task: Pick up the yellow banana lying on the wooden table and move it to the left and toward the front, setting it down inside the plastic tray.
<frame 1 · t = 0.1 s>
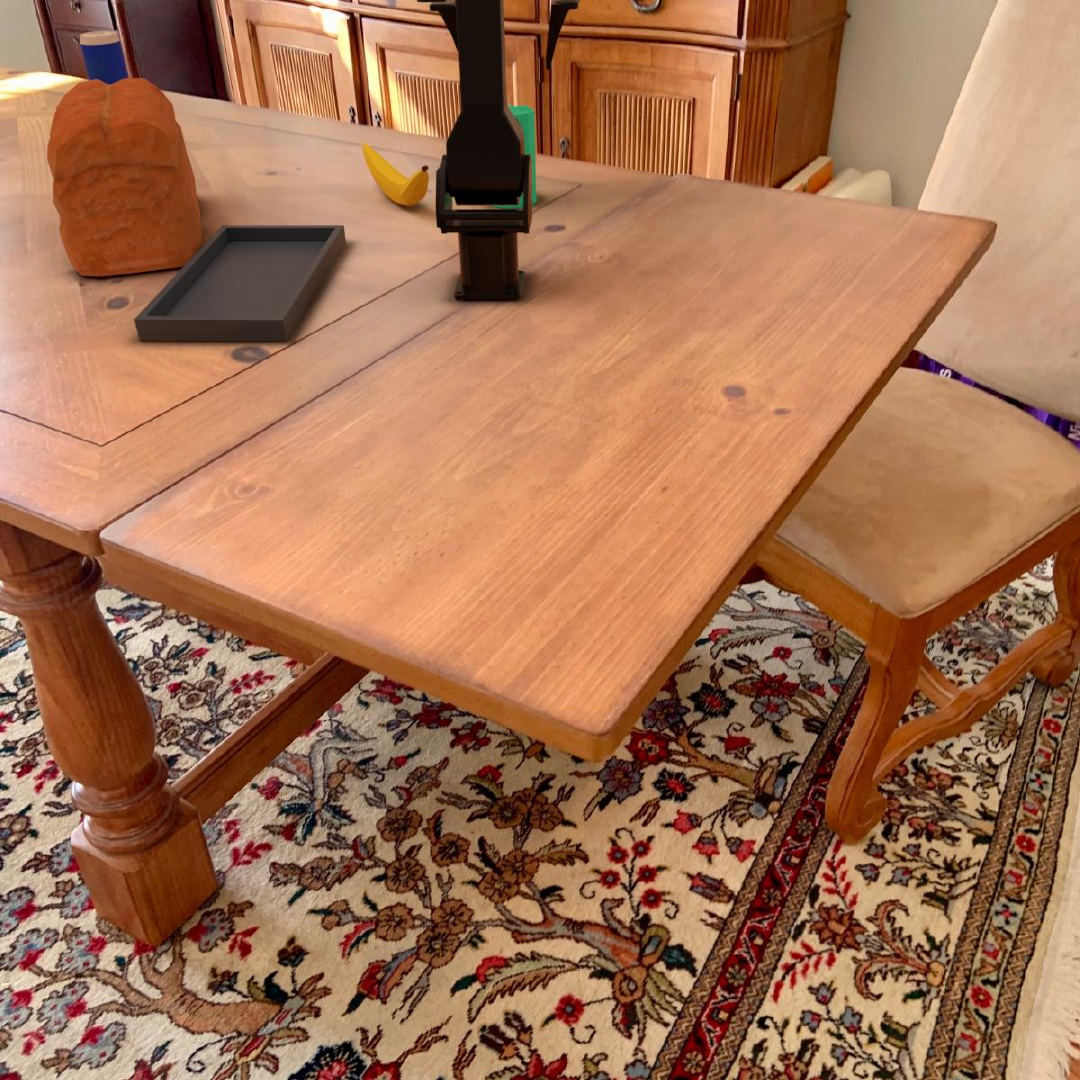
hand: (507, 69, 116), 15 cm above the table, tool pointing down, fingers open, 9 cm apart
beverage can: (126, 149, 148), on the table
tray: (252, 287, 103), on the table
bread: (141, 236, 117), on the table
banana: (398, 202, 125), on the table
candle: (512, 202, 124), on the table
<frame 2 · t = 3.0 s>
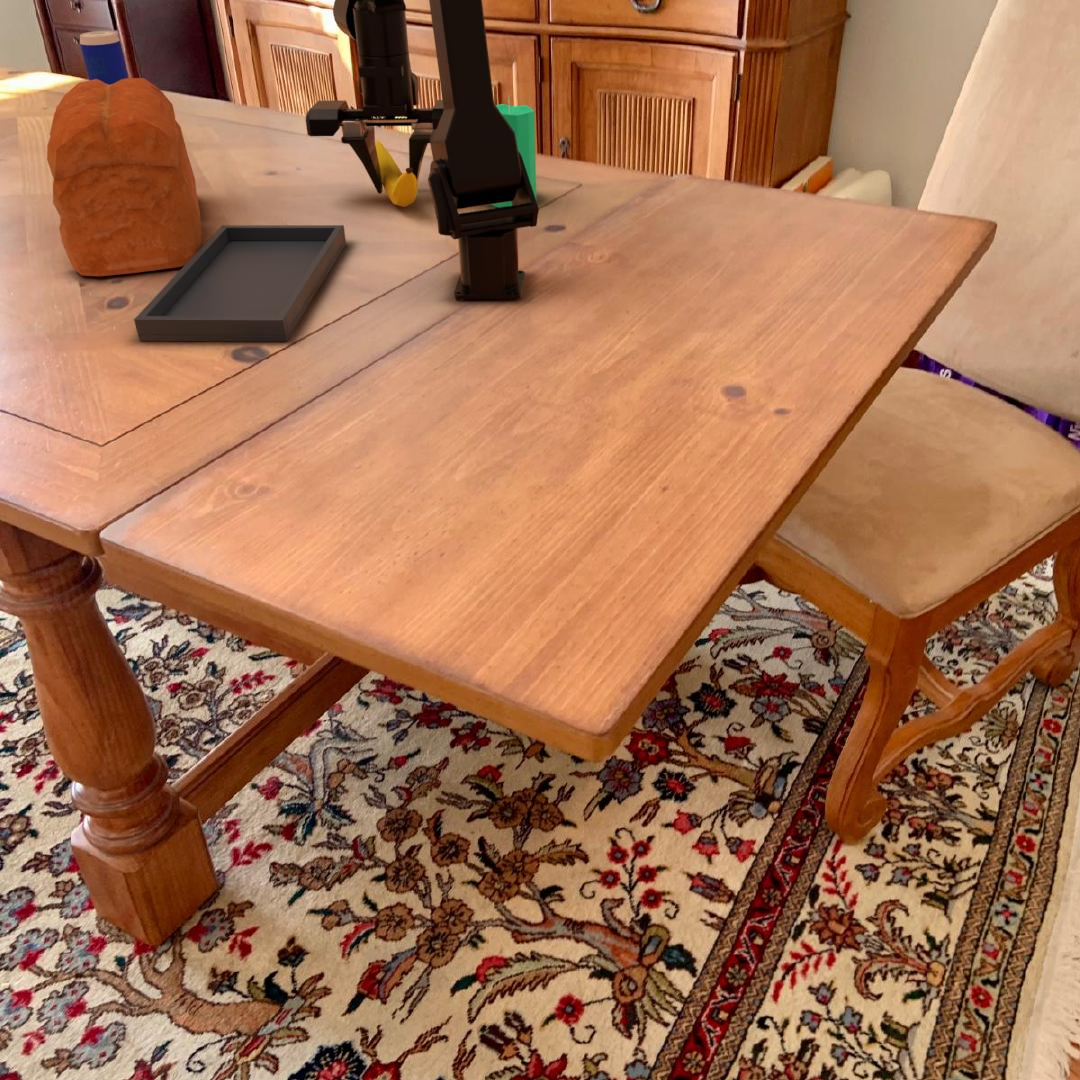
hand: (397, 192, 124), 1 cm above the table, tool pointing down, fingers closed on banana, 4 cm apart
banana: (397, 202, 125), on the table, touching gripper
everything else where it was.
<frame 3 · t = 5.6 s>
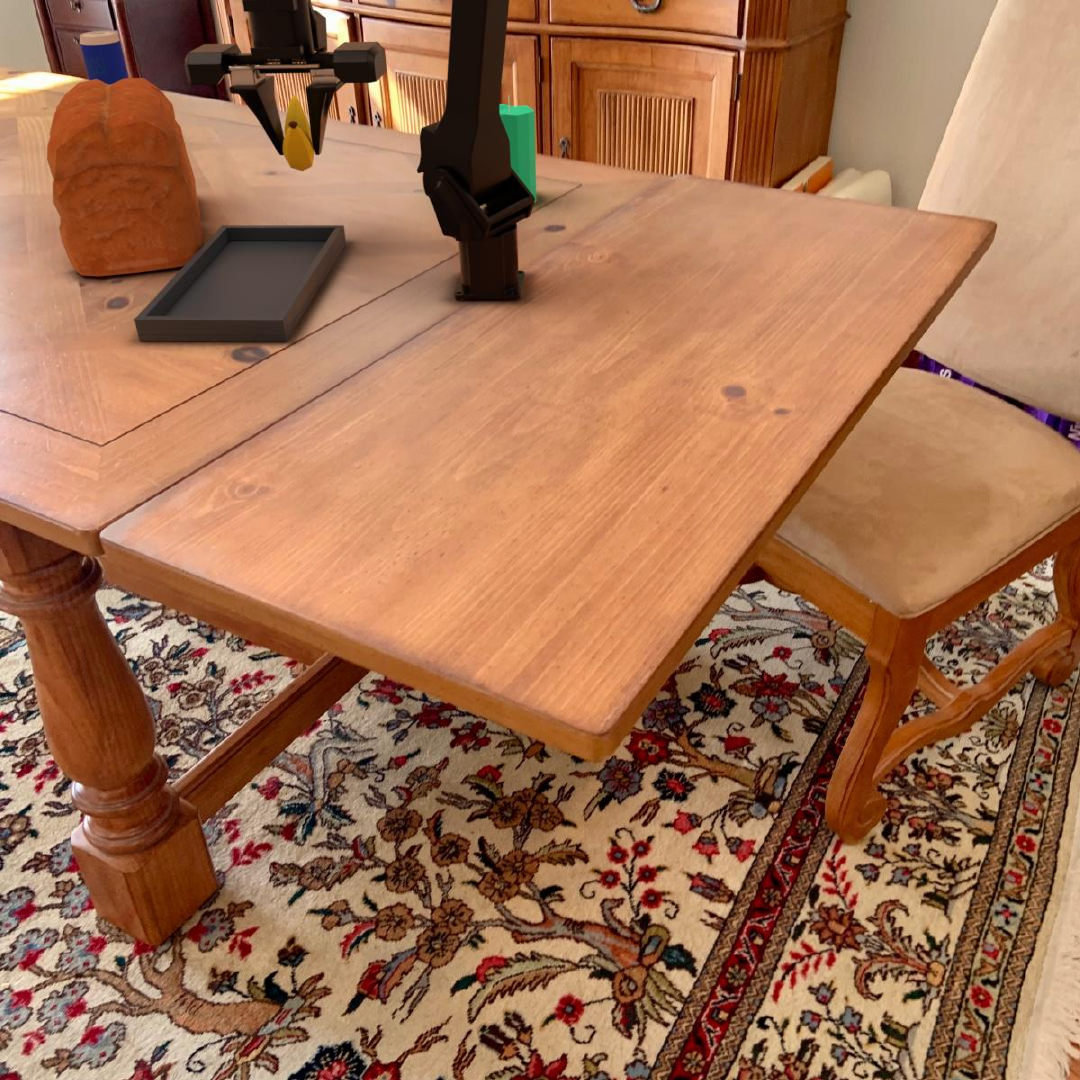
hand: (300, 154, 105), 10 cm above the table, tool pointing down, fingers closed on banana, 3 cm apart
banana: (302, 167, 106), point 9 cm above the table, touching gripper
everything else where it was.
when the fingers open (2 cm above the table, at t = 8.7 s): banana stays where it is, resting on tray.
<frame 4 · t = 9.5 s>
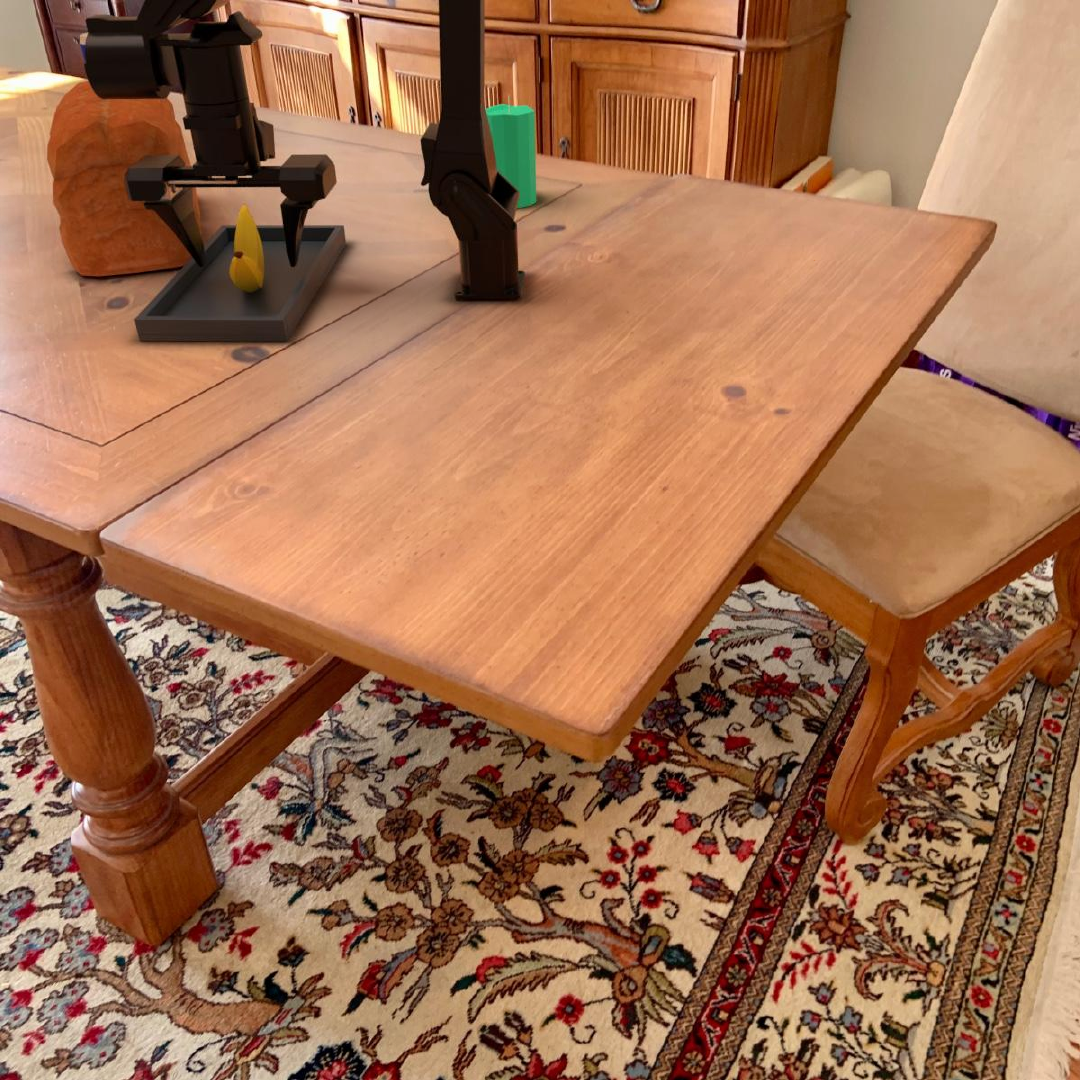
hand: (248, 265, 101), 2 cm above the table, tool pointing down, fingers open, 9 cm apart
banana: (252, 284, 102), resting on tray
everything else where it was.
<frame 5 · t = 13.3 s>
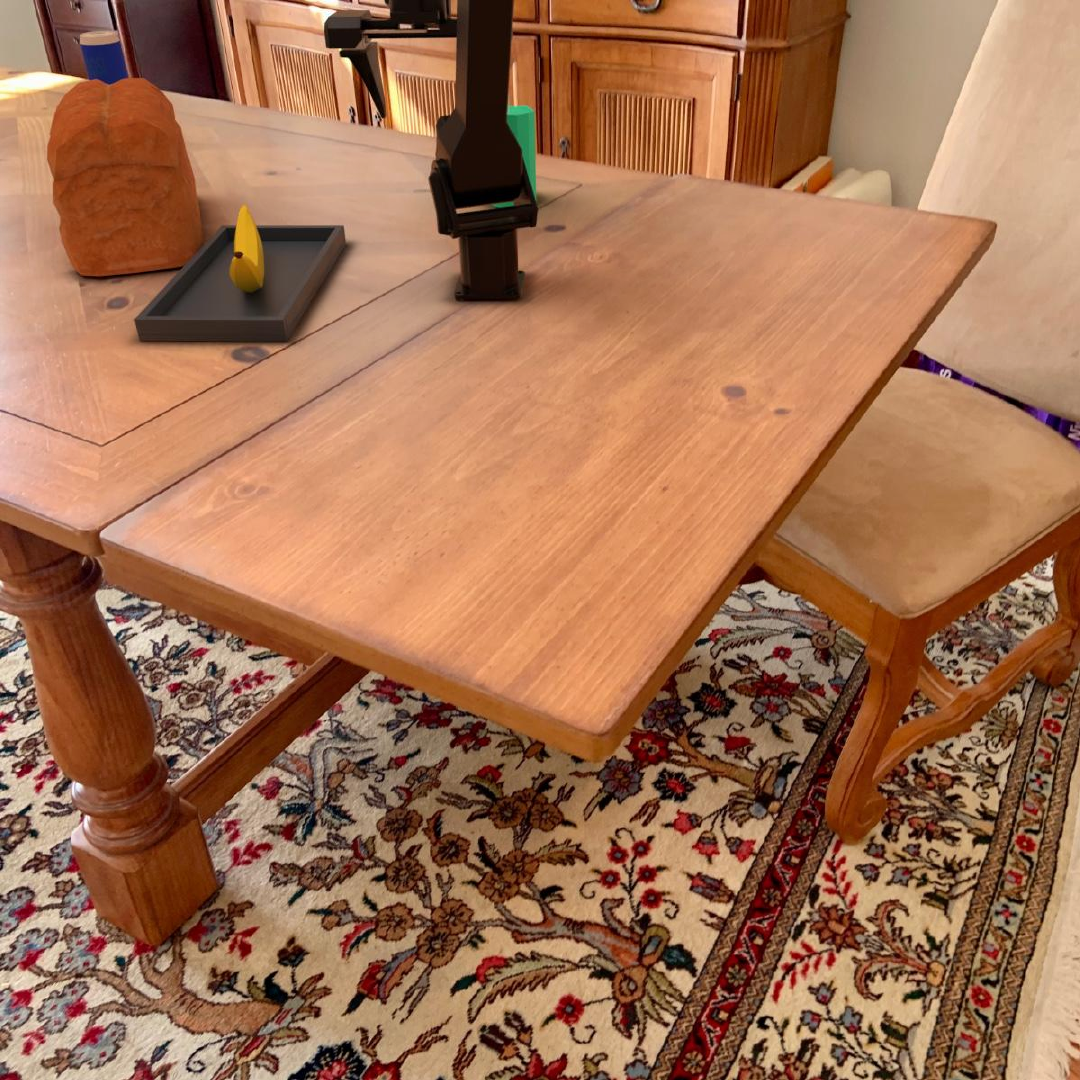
hand: (426, 117, 109), 12 cm above the table, tool pointing down, fingers open, 9 cm apart
nothing on the table moved.
at the end: banana inside the target area in the tray (0.1 cm from its centre), point 0.4 cm above the tray's base; banana moved 29.8 cm from its start; the gripper is holding nothing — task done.
